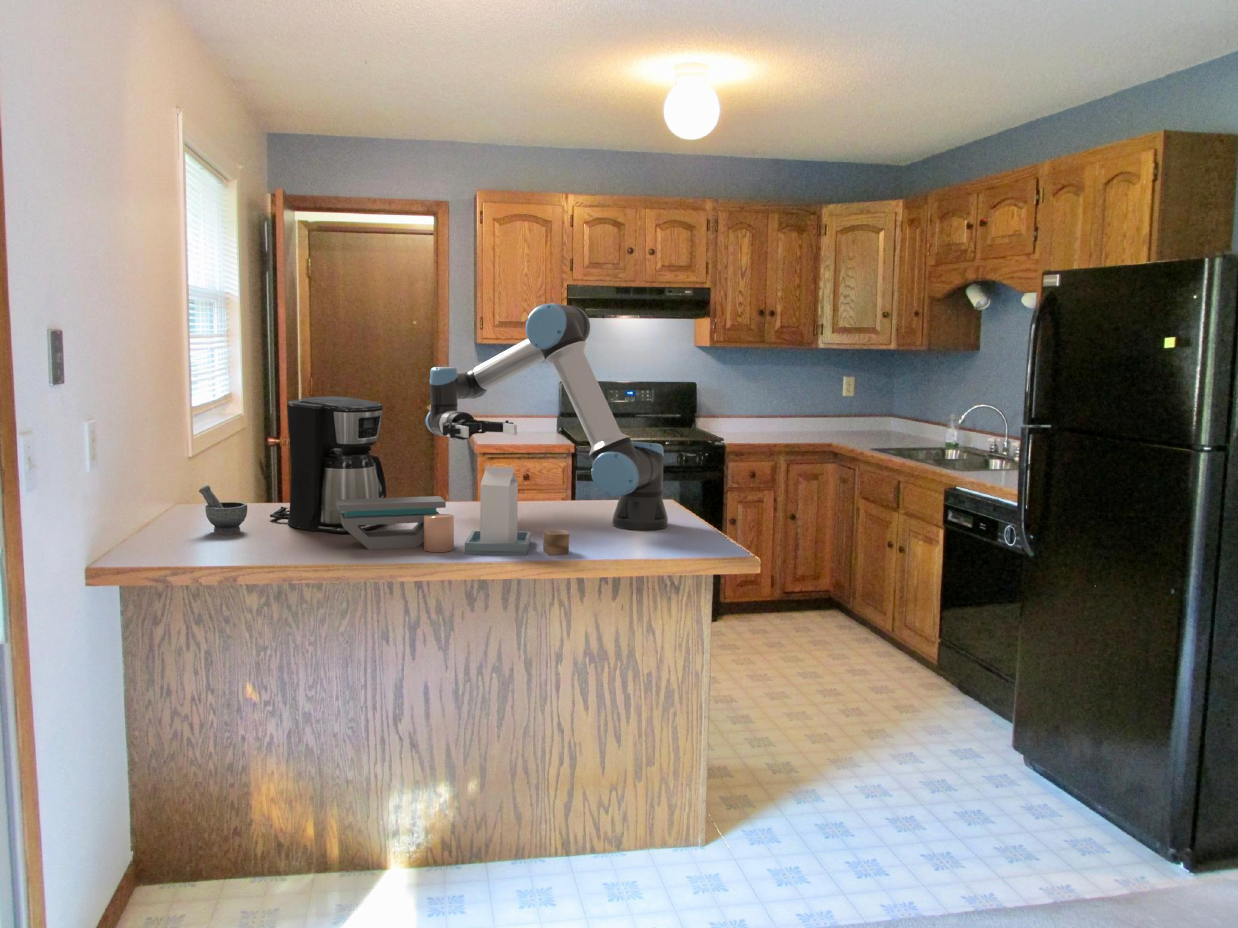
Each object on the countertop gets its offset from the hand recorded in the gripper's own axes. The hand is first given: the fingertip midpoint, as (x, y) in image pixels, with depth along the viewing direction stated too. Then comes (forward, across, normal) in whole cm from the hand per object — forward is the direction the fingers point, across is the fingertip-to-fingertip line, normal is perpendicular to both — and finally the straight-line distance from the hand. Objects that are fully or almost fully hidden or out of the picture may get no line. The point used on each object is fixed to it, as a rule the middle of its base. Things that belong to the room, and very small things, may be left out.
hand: (491, 431), depth 253 cm
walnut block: (+27, -4, -27) cm, 39 cm away
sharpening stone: (+2, +28, -26) cm, 39 cm away
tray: (+17, +6, -27) cm, 32 cm away
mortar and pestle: (-30, +60, -25) cm, 72 cm away
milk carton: (+17, +6, -26) cm, 32 cm away
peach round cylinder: (+12, +20, -26) cm, 35 cm away
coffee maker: (-30, +32, -26) cm, 51 cm away
